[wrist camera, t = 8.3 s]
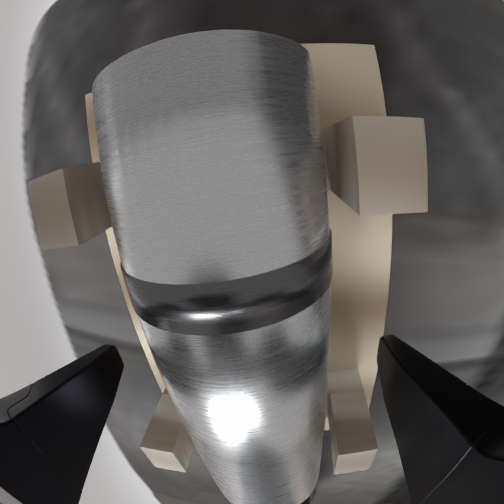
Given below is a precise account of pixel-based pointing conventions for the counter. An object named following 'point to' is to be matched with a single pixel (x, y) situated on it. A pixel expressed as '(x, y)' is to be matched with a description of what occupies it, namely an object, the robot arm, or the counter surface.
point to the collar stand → (340, 222)
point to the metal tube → (227, 245)
